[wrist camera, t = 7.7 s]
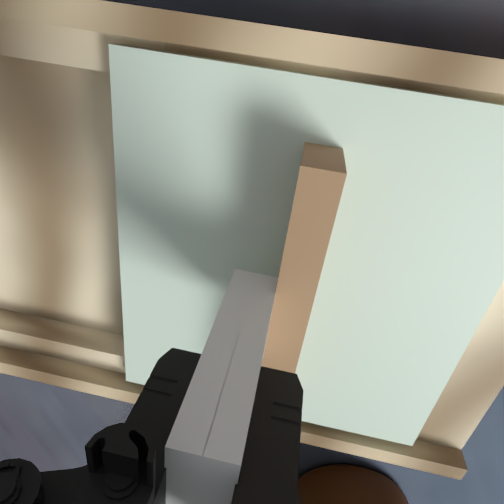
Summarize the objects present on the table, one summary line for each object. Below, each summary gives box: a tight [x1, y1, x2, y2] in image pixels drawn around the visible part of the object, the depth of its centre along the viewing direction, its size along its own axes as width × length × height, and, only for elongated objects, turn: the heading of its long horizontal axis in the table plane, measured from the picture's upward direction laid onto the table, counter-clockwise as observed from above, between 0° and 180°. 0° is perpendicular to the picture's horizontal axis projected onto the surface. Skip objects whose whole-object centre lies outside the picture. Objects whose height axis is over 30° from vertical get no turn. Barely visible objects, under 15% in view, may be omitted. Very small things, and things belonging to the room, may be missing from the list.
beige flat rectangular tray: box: [0, 0, 504, 480], centre depth 16 cm, size 30×17×3 cm, turn 83°
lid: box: [108, 44, 504, 446], centre depth 14 cm, size 14×15×3 cm
